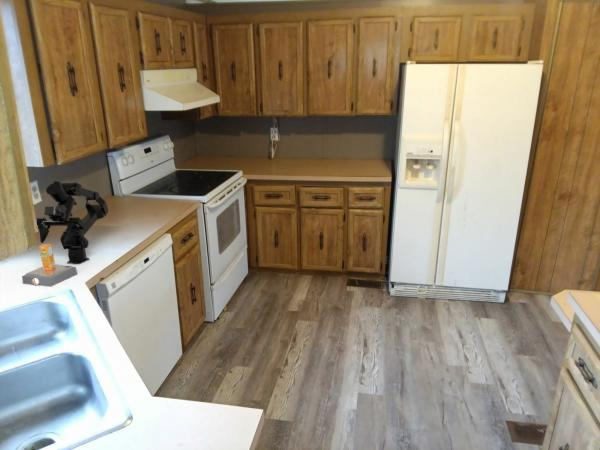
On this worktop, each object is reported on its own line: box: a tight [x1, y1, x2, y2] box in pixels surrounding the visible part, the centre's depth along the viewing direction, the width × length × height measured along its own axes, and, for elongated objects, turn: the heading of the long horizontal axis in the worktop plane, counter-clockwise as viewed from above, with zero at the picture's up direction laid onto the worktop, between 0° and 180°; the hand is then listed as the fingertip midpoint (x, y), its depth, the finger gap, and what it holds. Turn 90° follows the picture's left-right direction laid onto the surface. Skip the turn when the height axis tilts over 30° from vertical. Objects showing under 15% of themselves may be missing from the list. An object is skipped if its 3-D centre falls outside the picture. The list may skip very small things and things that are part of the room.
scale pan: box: [25, 263, 73, 278], centre depth 172 cm, size 11×11×1 cm
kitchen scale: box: [21, 266, 78, 288], centre depth 172 cm, size 14×13×3 cm
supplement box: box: [38, 243, 56, 271], centre depth 171 cm, size 3×3×10 cm
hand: (53, 242), depth 174 cm, fingers open, 9 cm apart
